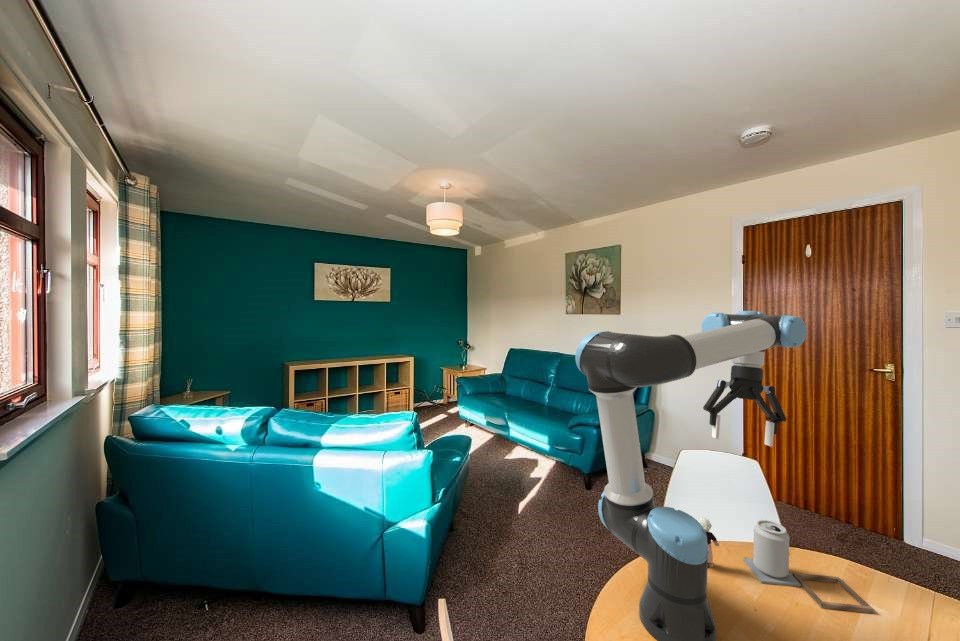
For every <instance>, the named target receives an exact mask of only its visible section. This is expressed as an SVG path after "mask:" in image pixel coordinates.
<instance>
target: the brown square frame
mask: <svg viewBox="0 0 960 641" xmlns="http://www.w3.org/2000/svg"><path fill="white" fill-rule="evenodd" d="M791 574H792V575H793V576H794V577H795V579H796V580H797V581H798V582H799V583H800V584H801V588H802V589H803V590H804V591H805V593H806V594H808V595H809V597H811V599H812V600H813V601H814V602H815V603H816V604H817V605H818V606H819V607H820V608H821V609H828V610H837V611H838V610H839V611H848V612H856V613H857V612H858V613H867V614H868V613H869V614H875V612H874V611H875V608H874V607H872V606H871V605H870V604H869V603H868V602H867V601H866V600H864V598H862V597H861V596H860V595H859V594H858V593H857V592H856V591H855V590H854V589H853V588H852V587H850V586H849V585H848V584H847V583H846V582H845V581H844V580H843V579H842V578H841V577H839V576H833V575H821V574H812V573H811V574H810V573H798V572H792V573H791ZM805 580H807V581H813V582H814V581H817V582H827V583H836V584H838V585H839V586H840V587H842V588H843V589H844V590H845V591H846V592H847V593H848V594H849V595H850V596H851V597H852V598H853V600H855V601H856V602H857V603H858V604H850V603H839V602H833V601H832V602H831V601H823V600H822V599H821V598H820V597H819V596H818V595H817V594H816V593H815V592H814V590H812V588H811V587H810V586H809V585H808V584H807V583H806V582H805Z"/></svg>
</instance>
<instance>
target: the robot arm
mask: <svg viewBox="0 0 960 641" xmlns="http://www.w3.org/2000/svg"><path fill="white" fill-rule="evenodd" d="M700 327H701V332H697V333H692V334H689V335H685V336H683V335H680V334H675V333H674V334H669V335H668V334H667V335H662V336H661V335H660V336H657V335H655V336H653V335H643V334H634V333H633V334H632V333H631V334H630V333H623V332H622V333H620V332H613V331H609V330H606V331H605V330H604V331H594V332H590V333H589V334H587V335H585V336H584V337H583V338H582V339H581V341H580V343H578V346H577V348H576V350H575V358H574V359H575V364H576V367H577V368H578V370H579V372H581V373H582V374H583V375H585V376H586V380H587V387H588V391H590V392H591V393H592V394H593V395H595V397H596V404H597V410H598V417H599V418H598V419H599V425H600V430H601V439H602V445H603V451H604V458H605V464H606V471H607V480H608V483H607V484H606V485H605V486H604V488H603V492H602V493H601V495H600V497H601V499H598V504H597V505H598V507H597V508H598V510H597V511H598V512H597V513H598V516H599V519H600V521H601V523H602V525H603V526H604V527H605V528H606V529H607V530H608V531H609V532H610V533H611V534H612V536H614V537H616V538H617V539H618V540H619V541H621V542H622V543H623V544H625V545H626V546H627V547H628V548H630V549H631V550H632V551H633V552H635V553H636V554H637V555H639V557H641V558H642V559H644V561H646V564H647V581H646V584H645V586H644V589H643V591H642V594H641V596H640V598H639V604H638V616H639V620H640V622H641V624H642V625H643V627H644V629H645V630H646V631H647V633H649V634H650V635H651V636H652V637H653V638H654V639H656V640H657V641H716V640H717V637H716V636H717V634H716V633H717V629H716V627H717V626H716V621H715V619H714V616H713V613H712V609H711V606H710V603H709V600H708V597H707V596H708V594H707V591H708V567H709V566H708V553H709V552H708V545H707V536H706V532H705V530H704V528H703V527H702V525H701V524H700V523H699V522H698V520H697V519H696V518H695V517H693V516H692V515H690V514H689V513H687V512H685V511H683V510H682V509H675V508H674V507H670V506H658V507H657V506H656V504H655V498H654V490H653V488H652V487H651V486H650V485H649V484H648V483H646V481H645V472H644V465H643V458H642V451H641V443H640V436H639V430H638V429H639V428H638V422H637V414H636V408H635V407H636V406H635V399H634V392H635V391H636V390H637V388H645V387H653V386H658V385H662V384H663V385H664V384H667V383H671V382H675V381H679V380H683V379H686V378H688V377H690V376H693V374H694V373H695V371H696V370H698V369H701V368H705V367H709V366H712V365H716V364H718V363H723V362H726V361H731V363H732V365H731V368H730V380H729V381H726V380H723V379H719V380H717V384H716V387H715V389H714V390H713V392H712V393H711V395H710V396H709V398H708V399H707V401H706V403H705V404H704V405H703V407H702V409H703V410H704V411H706V412H707V413H709V425H710V426H712V427H711V429H712V432H711V437H712V438H714V439H715V440H719V438H720V426H721V425H720V424H721V415H720V414H719V413H720V412H721V411H723V410H724V409H725V408H726V407H727V406H728V405H729V404H730V403H731V402H733V401H734V400H736V399H742V400H745V399H746V400H750V401H754V402H755V403H756V404H757V406H758V407H759V409H760V410H761V411H762V413H764V415H765V416H766V418H768V420H765V430H764V443H763V444H764V445H765V446H768V447H770V448H772V447H774V436H775V435H777V434H778V426H779V425H778V424H781V422H786V421H787V417H786V415H785V412H784V411H783V408H782V406H781V404H780V402H779V400H778V397H777V395H776V388H775V386H773V385H766V386H765V385H763V380H764V369H763V368H762V367H765V366H764V365H765V352H766V351H765V350H769V349H772V348H776V347H777V348H778V347H780V348H781V347H782V348H798V347H800V346H801V345H802V344H803V343H804V342H805V340H806V338H807V326H806V323H805V322H804V320H803V319H802V317H799V316H797V315H786V314H782V315H780V314H779V315H775V314H774V315H771V314H769V315H767V314H766V313H764V312H762V311H755V310H741V311H737V312H736V313H734V314H730V313H729V314H728V313H724V312H711V313H708V314H707V315H706V316H705V317H703V319H702V322H701V326H700ZM727 388H729V392H727V394H726V395H725V396H724V397H723V398H722V399H721V400H719V399H720V398H721V396H722V395H723V393H724V391H725V389H727ZM761 393H764V394H765V396H766V397H767V400H768V402H769V404H770V406H771V407H769V405H768V404H767V403H766V401H765V400H764V398H763V397H762V395H761ZM718 400H719V402H718Z"/></svg>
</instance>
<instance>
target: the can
mask: <svg viewBox="0 0 960 641" xmlns="http://www.w3.org/2000/svg"><path fill="white" fill-rule="evenodd" d="M756 522H757V523H756V524H755V525H754V527H753V556H752V557H753V558H752V559H753V563H754V565H755V566H756V567H757V568H758V569H759V570H760V571H761V572H762V573H764V574H766V575H768V576H770V577H774V578H783V577H785V576H787V575H788V574H789V572H790V569H789V568H790V567H789V566H790V535H789V534H788V532H787V529H786V527H785V526H783V525H782V524H780V523H778V522H776V521H772V520H767V519H761V520H758V521H756Z"/></svg>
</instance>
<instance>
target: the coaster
mask: <svg viewBox="0 0 960 641" xmlns="http://www.w3.org/2000/svg"><path fill="white" fill-rule="evenodd" d="M742 560H743V562H744V563H745V564H746V565H747V568H748V569H749V570H750V571H751V572H752V573H753V575H754V576H755V577H756V579H757V580H758V581H759V582H760V583H761V584H765V585H766V584H767V585H779V586H786V587H787V586H788V587H789V586H790V587H797V588H798V587H799V588H800V587H801V584H800V583H799V582H798V581H797V580H796V579H795V577H794V576H793V575H792V573H791V572H790V571H789V574H788V575H787V576H785V577H783V578H774V577H770V576H768V575H766V574H764V573H762V572H761V571H760V570H759V569H758V568H757V567H756V566H755V565H754V563H753V558H748V557H743V559H742ZM801 588H802V587H801Z"/></svg>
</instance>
